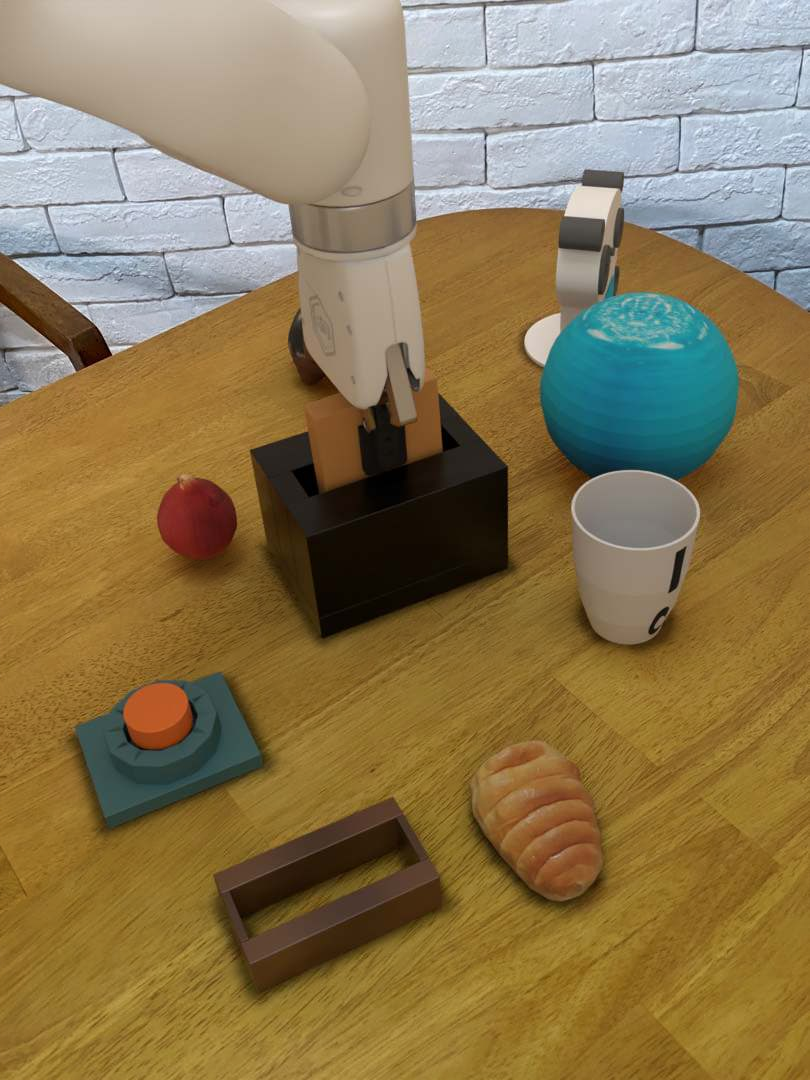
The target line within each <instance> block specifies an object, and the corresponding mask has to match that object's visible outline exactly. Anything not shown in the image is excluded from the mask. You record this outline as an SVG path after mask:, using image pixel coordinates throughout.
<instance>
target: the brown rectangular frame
mask: <svg viewBox="0 0 810 1080" xmlns="http://www.w3.org/2000/svg"><path fill="white" fill-rule="evenodd" d="M396 849H399V850H400V851H401V854H402V855H403V857H404V858H405V861H406V862H407V864H408V866H407V867H405V868H403V869H401V870H398V871H396V872H394V873H392V874H389V875H387V876H386V877H383V878H380V879H379V880H376V881H374V882H372V883H369V884H368V885H366V886H363V887H361V888H359V889H357V890H354V891H353V892H350V893H348V894H345V895H344V896H341V897H339V898H337V899H334V900H333V901H330V902H328V903H326V904H324V905H321V906H319V907H316V908H315V909H313V910H310V911H308V912H306V913H304V914H302V915H300V916H297V917H295V918H293V919H290V920H289V921H285V922H284V923H282V924H279V925H278V926H275V927H273V928H271V929H269V930H267V931H264V932H262V933H259V934H258V935H255V936H253V937H251V938H250V937H249V935H248V932H247V929H246V927H245V925H244V922H243V920H242V918H244V917H247V916H248V915H250V914H253V913H255V912H258V911H260V910H262V909H264V908H267V907H269V906H271V905H273V904H275V903H277V902H279V901H282V900H284V899H286V898H289V897H291V896H293V895H295V894H297V893H300V892H302V891H305V890H307V889H308V888H311V887H313V886H316V885H318V884H319V883H322V882H324V881H327V880H329V879H331V878H333V877H336V876H338V875H341V874H342V873H344V872H346V871H349V870H350V869H353V868H356V867H358V866H360V865H363V864H364V863H367V862H368V861H372V860H374V859H376V858H378V857H380V856H383V855H385V854H387V853H389V852H391V851H393V850H396ZM213 879H214V883H215V886H216V889H217V893H218V896H219V899H220V903H221V905H222V908H223V910H224V913H225V915H226V918H227V920H228V922H229V925H230V929H231V931H232V933H233V936H234V938H235V940H236V943H237V946H238V948H239V950H240V953H241V956H242V958H243V960H244V963H245V965H246V967H247V971H248V973H249V975H250V978H251V981H252V983H253V986H254V988H255V991H256V993H262V992H263V991H265V990H267V989H270V988H272V987H274V986H276V985H278V984H280V983H282V982H285V981H286V980H289V979H290V978H293V977H295V976H297V975H299V974H302V973H304V972H306V971H308V970H310V969H313V968H315V967H316V966H318V965H321V964H324V963H326V962H327V961H329V960H331V959H333V958H335V957H338V956H340V955H342V954H344V953H346V952H348V951H351V950H352V949H354V948H357V947H359V946H361V945H363V944H365V943H368V942H369V941H371V940H374V939H376V938H378V937H380V936H382V935H385V934H386V933H389V932H391V931H394V930H395V929H397V928H399V927H401V926H403V925H405V924H407V923H408V924H409V923H410V922H412V921H414V920H416V919H419V918H420V917H423V916H424V915H427V914H429V913H431V912H433V911H435V910H438V909H440V908H442V907H443V901H442V888H441V875H440V874H439V873H438V871H437V869H436V867H435V866H434V863H433V862H432V860H431V859H430V857H429V855H428V854H427V852H426V850H425V848H424V847H423V845H422V843H421V841H420V840H419V838H418V836H417V835H416V833H415V831H414V829H413V827H412V826H411V824H410V822H409V821H408V819H407V817H406V815H404V812H403V811H402V808H401V807H400V805H399V804H398V802H397V800H396V798H395V797H394V796H391V797H389V798H387V799H384V800H382V801H380V802H377V803H374V804H372V805H371V806H367V807H366V808H364V809H361V810H359V811H356V812H354V813H351V814H350V815H347V816H344V817H343V818H340V819H337V820H336V821H334V822H331V823H329V824H327V825H323V826H322V827H319V828H317V829H315V830H313V831H310V832H308V833H306V834H303V835H301V836H299V837H297V838H294V839H292V840H290V841H287V842H285V843H283V844H280V845H278V846H275V847H272V848H271V849H269V850H266V851H263V852H262V853H259V854H257V855H255V856H252V857H250V858H248V859H245V860H243V861H241V862H239V863H236V864H234V865H232V866H230V867H227V868H225V869H222V870H220V871H217V872H215V873H214V874H213Z"/></svg>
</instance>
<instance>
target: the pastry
mask: <svg viewBox="0 0 810 1080" xmlns="http://www.w3.org/2000/svg"><path fill="white" fill-rule="evenodd" d="M580 778H581V771H580V768H579V767H578V766H577V765H576V764H575V763H574V762H573V761H571V760H570V759H568V758H567V757H566V756H565V755H564V754H563V753H561V752H560V751H559V750H557V749H556V748H555V747H553V746H550V745H549V744H548V743H547V742H546V741H543V740H529V741H522V742H518V743H515V744H510V745H508V746H506V747H504V748H503V749H501V750H499V752H498V753H495V754H493V755H491V756H490V757H488V758H487V759H486V760H485V761H484V762H483V763H482V764H481V765H480V766H479V768H478V769H477V771H476V772H475V773H474V775H472V777H471V779H470V784H469V788H470V793H471V809H472V810H471V811H472V814H473V817H474V819H475V820H476V822H477V824H478V826H479V827H480V830H481V831H482V833H483V835H484V836H485V838H487V840H488V841H489V842H490V843H491V845H492V846H493V848H494V849H495V850H496V852H497V853H498V855H499V856H500V857H501V858H502V860H504V861H505V863H506V864H507V865H508V866H509V867H510V868H511V869H512V870H513V872H515V874H516V875H517V876H518V877H519V878H520V880H522V881H523V883H524V884H525V885H526V886H527V887H528V888H529V889H530V890H532V891H534V892H536V893H538V894H539V895H541V897H544V898H546V899H547V900H549V901H554V902H565V901H568V900H570V899H575V898H576V897H579V896H581V895H583V894H584V893H585V892H586V891H587V890H588V889H589V888H590V887H591V886H592V885H593V884H594V883H595V881H596V880H597V878H598V876H599V874H600V872H601V871H602V869H603V868H604V859H603V853H602V849H601V848H602V847H601V844H602V843H601V842H602V834H601V831H600V830H601V829H600V828H599V825H598V820H597V815H596V813H595V812H596V805H595V804H596V803H595V801H594V799H593V797H592V795H591V793H590V792H589V791H588V790H587V789H586V787H585V786H584V785H583V784H582V782H581V779H580Z"/></svg>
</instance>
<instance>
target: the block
mask: <svg viewBox="0 0 810 1080" xmlns="http://www.w3.org/2000/svg"><path fill="white" fill-rule="evenodd" d="M157 683H169V684H173V685H176V686H178V687H179V688H181V689H182V690H183V691H184V692H185V693H186V695H187V698H188V701H189V705H190V708H191V712H192V715H193V725H192V728H191V730H190V732H189V734H188V735H187V736H186V737H185V738H184V739H183V740H182V741H181V742H179V743H178V744H176V745H174V746H172V747H169V748H167V749H163V750H147V749H143V748H141V747H139V746H138V745H136V744H135V743H134V742H133V741H132V739H131V737H130V734H129V731H128V729H127V726H126V723H125V720H124V715H123V712H124V707H125V704H126V702H127V701H128V699H129V698H130V697H131V696H132V695H133V694H134V693H135V692H137V691H138V690H140V689H141V688H143V687H146V686H148V685H152V684H157ZM74 730H75V733H76V736H77V739H78V741H79V745H80V747H81V752H82V754H83V756H84V757H83V758H84V760H85V762H86V766H87V769H88V773H89V776H90V778H91V781H92V784H93V787H94V790H95V794H96V796H97V799H98V802H99V805H100V808H101V811H102V814H103V817H104V820H105V822H106V825H107V828H108V829H109V830H110V829H113V828H115V827H117V826H120V825H123V824H125V823H128V822H130V821H132V820H135V819H137V818H140V817H142V816H145V815H147V814H149V813H152V812H154V811H157V810H159V809H162V808H164V807H167V806H169V805H171V804H174V803H177V802H179V801H181V800H183V799H186V798H188V797H191V796H194V795H196V794H198V793H200V792H203V791H206V790H208V789H211V788H214V787H215V786H218V785H220V784H223V783H226V782H228V781H230V780H232V779H235V778H238V777H240V776H242V775H245V774H248V773H249V772H251V771H254V770H257V769H259V768H262V767H264V761H263V757H262V753H261V750H260V749H259V747H258V745H257V743H256V741H255V739H254V736H253V734H252V733H251V730H250V729H249V726H248V724H247V722H246V720H245V718H244V716H243V714H242V712H241V710H240V708H239V706H238V704H237V702H236V700H235V698H234V695H233V694H232V691H231V689H230V687H229V686H228V683H227V682H226V679H225V677H224V675H223V673H222V671H216V672H214V673H211V674H209V675H206V676H203V677H201V678H198V679H196V680H193V681H189V680H182V679H181V680H179V679H178V680H175V679H174V680H173V679H164V680H163V679H159V680H156V681H153V682H150V683H147V684H145V685H141V686H139V687H137V688H134V689H131V690H130V691H129V692H128V693H127V694H126V695H124V697H123V698H121V700H120V701H118V702H117V703H116V704H115V705H114V706H113V707H112V708H111V709H110V711H109V713H106V714H103V715H100V716H98V717H95V718H93V719H90V720H88V721H85V722H82V723H79V724H77V725H74Z"/></svg>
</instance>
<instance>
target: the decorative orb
mask: <svg viewBox="0 0 810 1080" xmlns="http://www.w3.org/2000/svg"><path fill="white" fill-rule="evenodd" d="M739 378H740V377H739V371H738V366H737V363H736V360H735V357H734V354H733V352H732V349H731V347H730V346H729V344H728V342H727V339H726V338H725V336H724V334H723V333H722V331H721V329H720V328H719V327H718V326H717V325H716V324H715V322H713V321H712V320H711V319H710V318H709V317H708V316H706V315H705V314H704V313H703V312H702V311H701V310H699V309H698V308H697V307H695V306H693V305H692V304H690V303H688V302H686V301H683V300H681V299H679V298H677V297H674V296H670V295H667V294H662V293H658V292H646V291H640V292H639V291H638V292H628V293H622V294H619V295H616V296H614V297H610V298H607V299H605V300H603V301H601V302H599V303H596V304H594V305H593V306H591V307H589V308H587V309H585V310H584V311H582V312H581V313H580V314H579V315H578V316H577V317H575V318H574V319H573V320H572V321H571V322H570V323H569V324H568V325H567V326H566V327H565V328H564V329H563V331H562V332H561V333H560V334H559V336H558V337H557V338H556V340H555V342H554V344H553V345H552V347H551V349H550V352H549V355H548V358H547V361H546V363H545V367H544V368H543V370H542V374H541V376H540V382H539V399H540V401H539V402H540V407H541V412H542V415H543V420H544V423H545V427H546V431H547V433H548V436H549V437H550V439H551V442H552V443H553V444H554V445H555V447H556V448H557V449H558V451H559V452H560V453H561V454H562V455H563V456H564V458H565V459H566V460H567V461H568V463H569V464H570V465H571V466H573V468H575V469H576V470H577V471H580V472H581V473H583V474H584V475H586V476H587V477H589V478H590V479H593V478H595V477H597V476H600V475H602V474H606V473H609V472H614V471H622V470H640V471H648V472H653V473H657V474H661V475H664V476H667V477H669V478H671V479H673V480H675V481H677V482H679V481H680V480H682V479H683V478H685V477H687V476H688V475H690V474H692V473H693V472H695V471H697V470H698V469H700V468H702V466H703V465H705V464H706V463H707V462H708V461H709V460H711V458H712V456H713V455H714V454H715V452H716V451H717V449H718V448H719V447H720V446H721V444H722V443H723V442H724V440H725V439H726V437H727V436H728V434H729V432H730V431H731V428H732V427H733V424H734V421H735V417H736V413H737V407H738V398H739V388H740V387H739V385H740V379H739Z"/></svg>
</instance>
